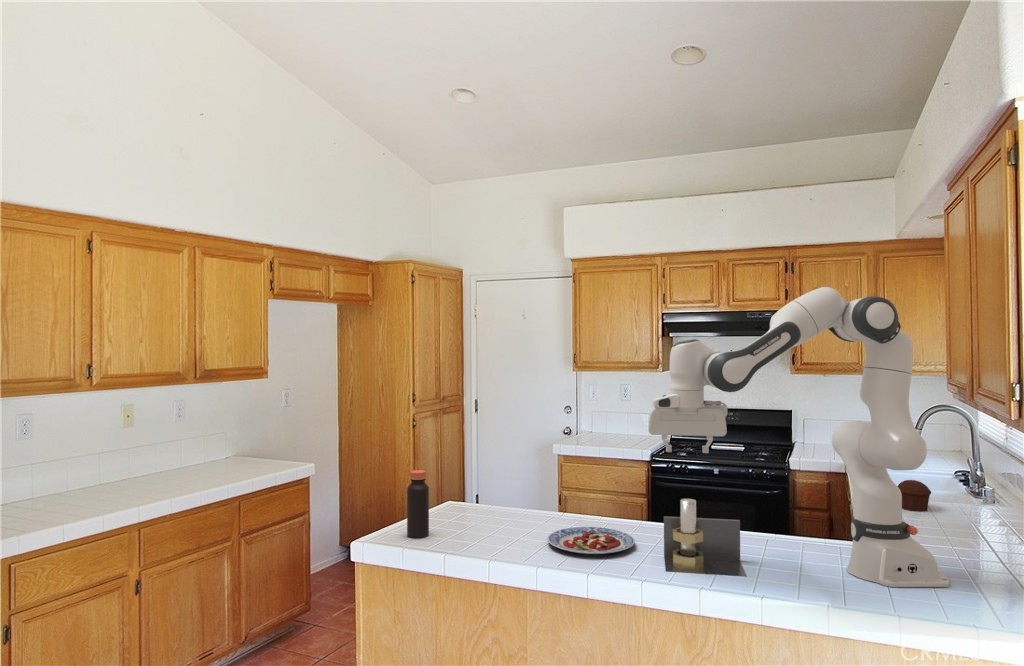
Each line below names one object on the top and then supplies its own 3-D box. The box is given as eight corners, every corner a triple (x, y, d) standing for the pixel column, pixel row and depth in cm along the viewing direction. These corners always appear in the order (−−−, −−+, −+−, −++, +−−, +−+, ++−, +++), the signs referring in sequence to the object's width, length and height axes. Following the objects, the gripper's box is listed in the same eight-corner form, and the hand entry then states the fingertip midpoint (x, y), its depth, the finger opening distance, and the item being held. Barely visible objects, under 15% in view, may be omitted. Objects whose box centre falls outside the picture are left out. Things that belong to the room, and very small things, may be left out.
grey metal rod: (695, 562, 177) (695, 499, 177) (697, 567, 173) (697, 502, 173) (679, 561, 178) (679, 498, 178) (680, 566, 173) (680, 502, 174)
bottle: (422, 539, 202) (422, 474, 203) (403, 537, 205) (403, 472, 205) (432, 533, 209) (432, 470, 209) (413, 531, 211) (413, 468, 211)
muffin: (891, 503, 245) (890, 476, 245) (924, 505, 242) (924, 478, 243) (901, 511, 234) (900, 483, 234) (936, 513, 231) (936, 485, 231)
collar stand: (739, 564, 179) (739, 519, 179) (747, 581, 166) (746, 533, 166) (664, 559, 183) (663, 516, 183) (665, 576, 170) (665, 529, 170)
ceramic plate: (584, 528, 214) (584, 519, 214) (652, 546, 196) (652, 536, 196) (529, 546, 196) (529, 536, 196) (598, 567, 178) (598, 555, 178)
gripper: (725, 399, 177) (726, 451, 177) (648, 398, 181) (648, 449, 181) (728, 401, 171) (729, 455, 171) (648, 400, 175) (648, 453, 175)
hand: (687, 452), depth 176 cm, fingers open, 8 cm apart
